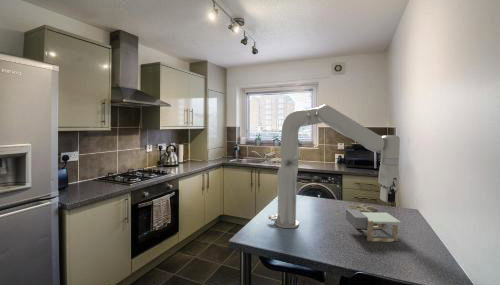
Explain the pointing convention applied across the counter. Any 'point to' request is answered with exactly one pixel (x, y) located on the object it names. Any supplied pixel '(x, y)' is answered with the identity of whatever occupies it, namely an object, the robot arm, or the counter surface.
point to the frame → (371, 227)
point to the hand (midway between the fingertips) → (388, 199)
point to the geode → (364, 208)
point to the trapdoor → (368, 218)
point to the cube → (385, 194)
